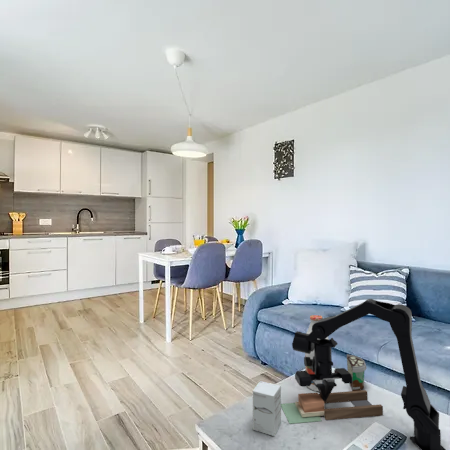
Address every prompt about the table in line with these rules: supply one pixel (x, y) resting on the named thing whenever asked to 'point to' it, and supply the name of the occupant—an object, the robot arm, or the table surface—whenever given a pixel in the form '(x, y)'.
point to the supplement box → (267, 408)
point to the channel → (351, 411)
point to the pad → (296, 414)
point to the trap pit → (361, 403)
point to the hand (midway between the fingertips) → (323, 401)
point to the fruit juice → (313, 320)
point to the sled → (310, 405)
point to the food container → (356, 372)
